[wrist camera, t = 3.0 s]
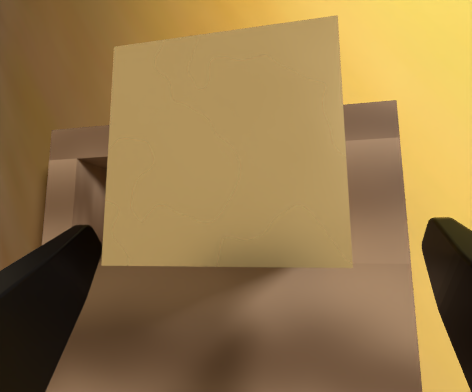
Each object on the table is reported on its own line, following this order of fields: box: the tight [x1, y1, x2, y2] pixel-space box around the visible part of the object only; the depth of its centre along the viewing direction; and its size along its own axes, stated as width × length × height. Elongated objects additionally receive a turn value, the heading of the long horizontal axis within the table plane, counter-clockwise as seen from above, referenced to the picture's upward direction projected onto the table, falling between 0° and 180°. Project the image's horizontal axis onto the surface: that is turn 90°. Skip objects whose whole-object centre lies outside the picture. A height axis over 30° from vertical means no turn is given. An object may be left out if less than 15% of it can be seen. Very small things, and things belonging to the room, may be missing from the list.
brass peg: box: [101, 16, 353, 268], centre depth 12 cm, size 4×4×12 cm
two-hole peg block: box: [42, 100, 422, 392], centre depth 16 cm, size 16×18×3 cm
